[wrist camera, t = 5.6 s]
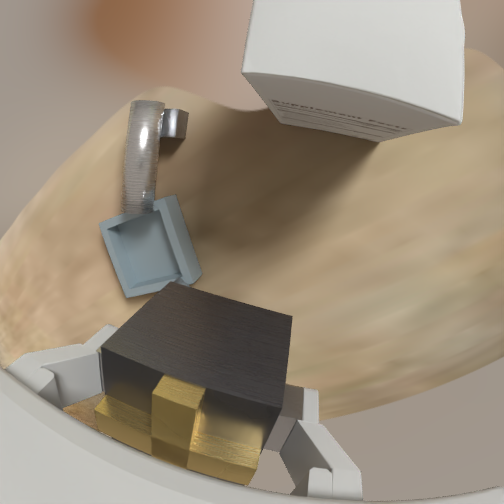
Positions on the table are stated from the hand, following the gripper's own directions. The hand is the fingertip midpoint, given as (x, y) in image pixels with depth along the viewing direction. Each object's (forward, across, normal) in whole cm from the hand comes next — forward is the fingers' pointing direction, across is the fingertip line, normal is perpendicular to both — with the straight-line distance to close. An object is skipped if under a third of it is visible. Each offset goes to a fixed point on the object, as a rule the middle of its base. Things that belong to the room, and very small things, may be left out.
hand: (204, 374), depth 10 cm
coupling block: (+2, 0, 0) cm, 2 cm away
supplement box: (+18, -2, -15) cm, 24 cm away
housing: (+18, +10, +3) cm, 21 cm away
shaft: (+18, +11, -5) cm, 22 cm away
